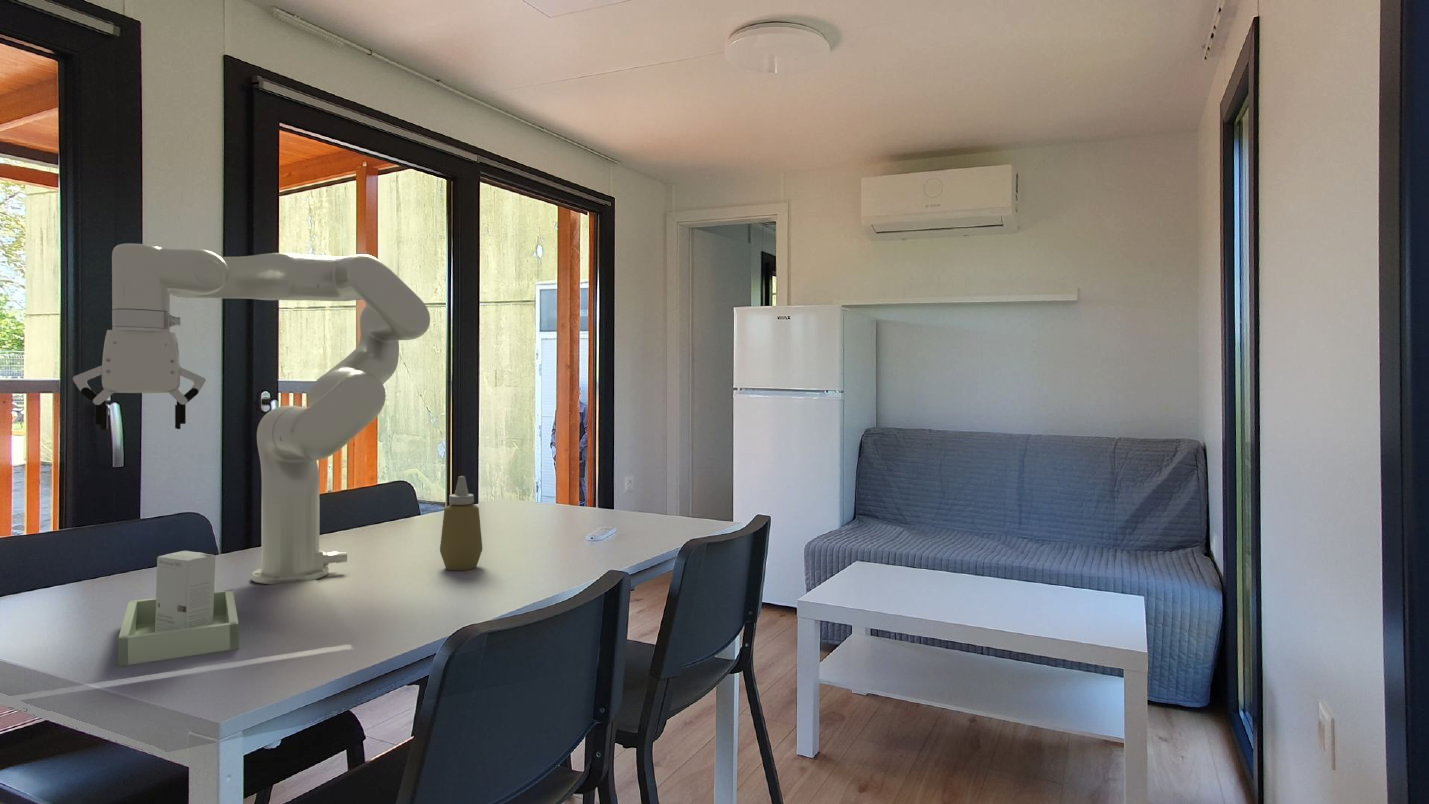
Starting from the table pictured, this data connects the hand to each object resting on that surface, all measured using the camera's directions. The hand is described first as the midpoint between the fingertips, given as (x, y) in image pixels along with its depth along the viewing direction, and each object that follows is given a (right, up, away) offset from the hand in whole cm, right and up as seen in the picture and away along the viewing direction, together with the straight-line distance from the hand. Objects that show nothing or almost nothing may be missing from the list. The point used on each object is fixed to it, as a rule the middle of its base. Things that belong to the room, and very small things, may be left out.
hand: (142, 429), depth 129 cm
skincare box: (+20, -29, -19) cm, 40 cm away
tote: (+17, -29, -16) cm, 38 cm away
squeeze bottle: (+42, -28, +29) cm, 58 cm away
